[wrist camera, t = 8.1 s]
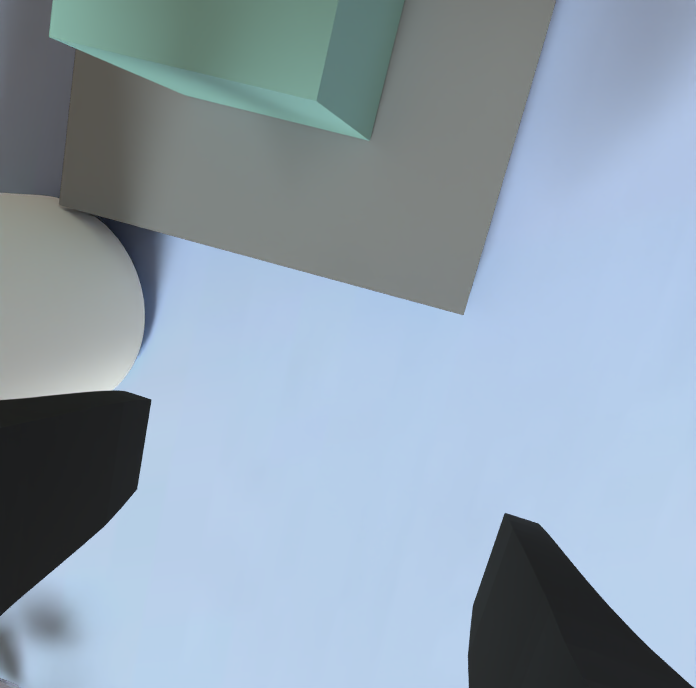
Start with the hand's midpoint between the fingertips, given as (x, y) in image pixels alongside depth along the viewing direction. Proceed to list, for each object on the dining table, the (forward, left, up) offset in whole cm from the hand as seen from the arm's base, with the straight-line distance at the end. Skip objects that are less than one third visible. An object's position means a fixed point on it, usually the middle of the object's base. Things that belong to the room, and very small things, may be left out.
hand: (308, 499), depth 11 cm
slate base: (+5, -10, -10) cm, 15 cm away
